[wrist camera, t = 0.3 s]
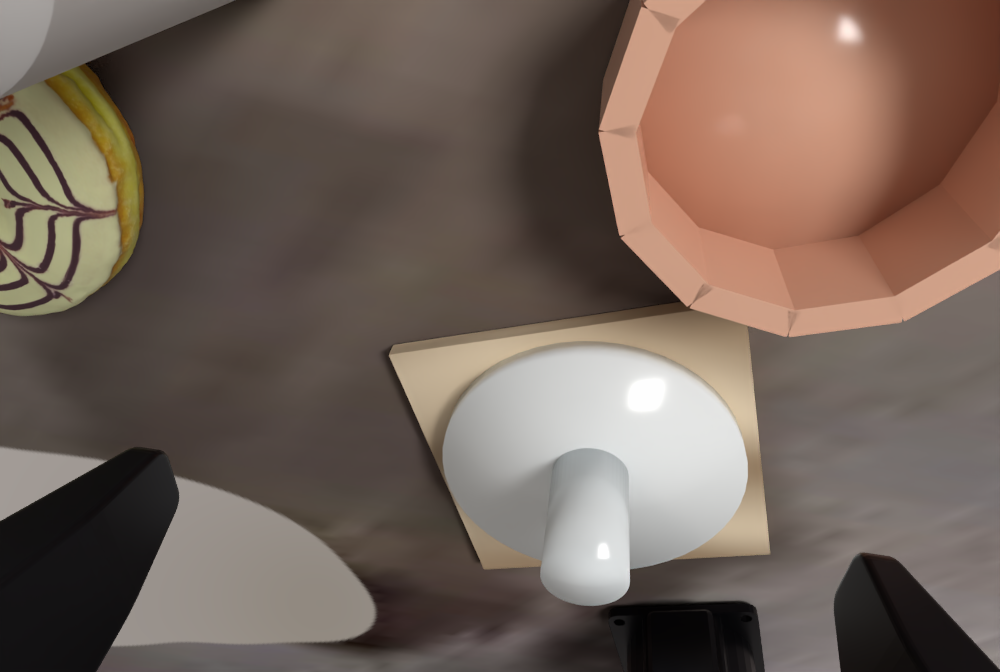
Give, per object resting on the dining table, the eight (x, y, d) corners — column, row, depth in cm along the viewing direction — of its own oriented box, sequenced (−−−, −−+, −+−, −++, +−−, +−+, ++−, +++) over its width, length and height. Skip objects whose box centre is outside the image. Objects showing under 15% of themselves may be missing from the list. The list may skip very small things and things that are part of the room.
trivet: (767, 542, 28) (770, 554, 28) (486, 558, 31) (483, 569, 31) (742, 292, 22) (745, 302, 21) (393, 344, 25) (388, 354, 25)
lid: (755, 545, 28) (779, 673, 23) (492, 561, 30) (471, 676, 26) (729, 318, 22) (754, 432, 18) (406, 364, 25) (362, 471, 20)
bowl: (1002, 222, 19) (1077, 298, 16) (640, 280, 22) (643, 356, 19) (1058, -218, 14) (1186, -236, 11) (574, -71, 17) (561, -50, 14)
